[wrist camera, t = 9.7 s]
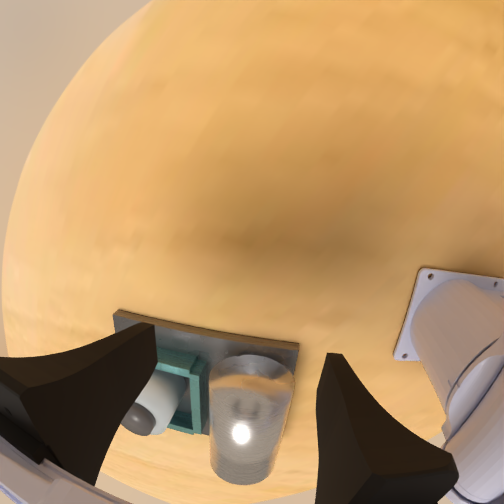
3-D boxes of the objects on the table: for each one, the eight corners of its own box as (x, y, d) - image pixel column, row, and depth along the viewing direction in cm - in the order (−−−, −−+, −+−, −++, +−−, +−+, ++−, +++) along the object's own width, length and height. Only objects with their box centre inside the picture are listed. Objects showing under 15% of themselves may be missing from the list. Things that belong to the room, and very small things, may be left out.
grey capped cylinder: (187, 369, 24) (161, 415, 18) (184, 405, 25) (162, 449, 20) (137, 351, 24) (103, 391, 19) (138, 388, 26) (110, 427, 20)
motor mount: (298, 343, 22) (295, 405, 16) (277, 440, 26) (268, 493, 20) (118, 309, 25) (72, 348, 18) (136, 407, 28) (107, 449, 22)
